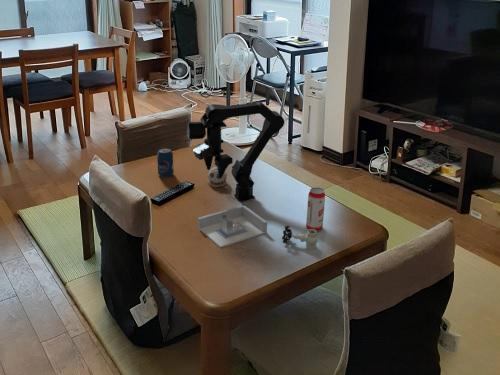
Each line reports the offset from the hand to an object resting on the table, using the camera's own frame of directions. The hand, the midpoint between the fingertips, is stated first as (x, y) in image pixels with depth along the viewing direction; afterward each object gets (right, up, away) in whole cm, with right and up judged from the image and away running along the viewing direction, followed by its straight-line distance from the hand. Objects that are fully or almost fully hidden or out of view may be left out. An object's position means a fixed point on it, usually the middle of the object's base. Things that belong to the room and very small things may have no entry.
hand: (214, 173), depth 232 cm
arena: (+8, -22, -17) cm, 29 cm away
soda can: (-23, 0, +27) cm, 36 cm away
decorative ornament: (0, -4, +20) cm, 20 cm away
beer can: (+39, -21, -14) cm, 46 cm away
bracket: (+8, -21, -18) cm, 29 cm away
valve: (+32, -26, -25) cm, 49 cm away
